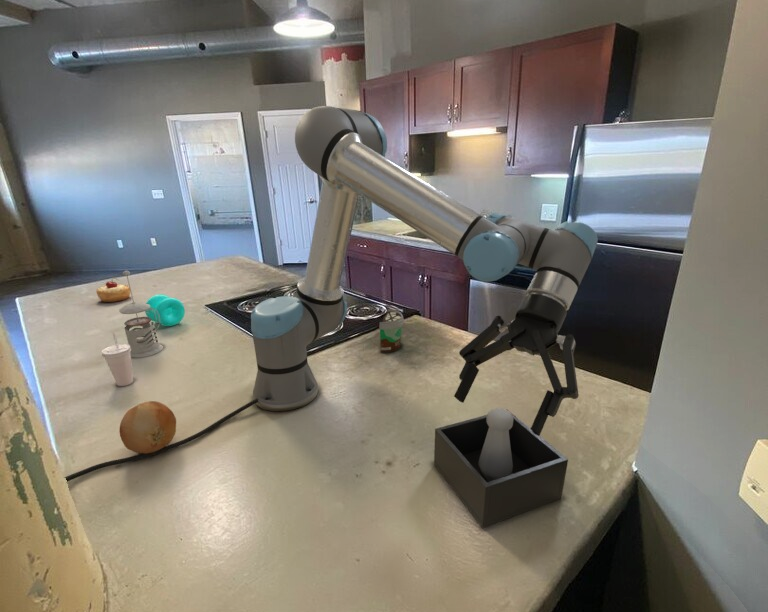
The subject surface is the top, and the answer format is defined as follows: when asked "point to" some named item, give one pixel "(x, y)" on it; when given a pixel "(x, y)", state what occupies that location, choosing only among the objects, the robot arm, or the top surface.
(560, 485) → the basket
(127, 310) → the french press
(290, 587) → the top surface
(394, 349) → the food container
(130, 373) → the smoothie
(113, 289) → the pastry
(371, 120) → the robot arm
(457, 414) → the top surface
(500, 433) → the salt shaker
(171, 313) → the turquoise short spool shape
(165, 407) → the onion
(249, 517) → the top surface
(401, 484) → the top surface
